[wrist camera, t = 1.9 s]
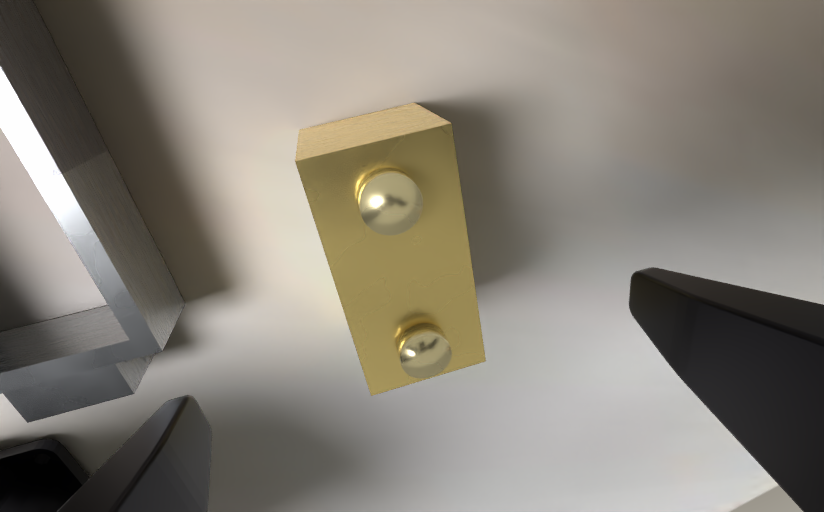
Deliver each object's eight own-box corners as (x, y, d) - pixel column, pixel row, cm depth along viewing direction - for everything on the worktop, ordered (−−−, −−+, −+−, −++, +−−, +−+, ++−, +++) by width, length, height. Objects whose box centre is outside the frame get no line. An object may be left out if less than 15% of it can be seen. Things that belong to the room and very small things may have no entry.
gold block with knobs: (447, 293, 16) (493, 374, 12) (357, 318, 16) (374, 411, 12) (413, 102, 13) (459, 127, 9) (299, 129, 13) (294, 167, 9)
